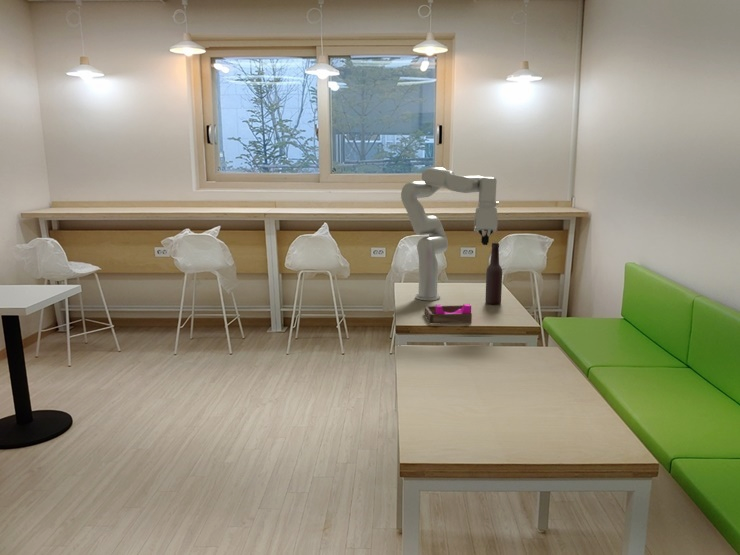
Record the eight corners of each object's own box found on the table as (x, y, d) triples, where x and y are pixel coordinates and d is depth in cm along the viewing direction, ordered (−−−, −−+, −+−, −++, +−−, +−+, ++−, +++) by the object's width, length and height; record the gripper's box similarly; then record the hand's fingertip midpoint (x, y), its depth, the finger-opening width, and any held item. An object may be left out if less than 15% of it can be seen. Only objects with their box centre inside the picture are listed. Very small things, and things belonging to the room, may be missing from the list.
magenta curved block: (467, 318, 263) (467, 302, 262) (470, 322, 257) (471, 305, 255) (434, 319, 262) (434, 303, 260) (437, 323, 256) (437, 306, 254)
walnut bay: (424, 314, 269) (424, 306, 268) (463, 313, 270) (463, 305, 269) (430, 323, 255) (430, 314, 254) (471, 322, 256) (471, 313, 255)
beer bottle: (495, 300, 293) (498, 241, 287) (503, 304, 286) (506, 243, 280) (482, 302, 291) (484, 242, 285) (490, 305, 284) (492, 244, 278)
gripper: (500, 203, 270) (498, 243, 274) (468, 203, 269) (466, 243, 273) (505, 205, 263) (503, 245, 267) (472, 205, 262) (470, 245, 266)
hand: (484, 244), depth 270 cm, fingers closed
